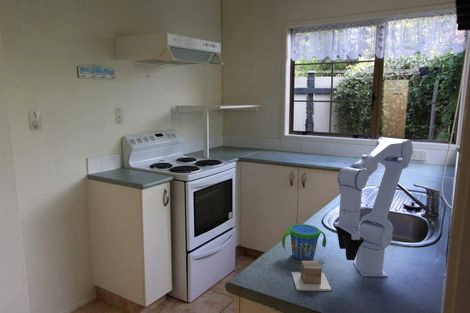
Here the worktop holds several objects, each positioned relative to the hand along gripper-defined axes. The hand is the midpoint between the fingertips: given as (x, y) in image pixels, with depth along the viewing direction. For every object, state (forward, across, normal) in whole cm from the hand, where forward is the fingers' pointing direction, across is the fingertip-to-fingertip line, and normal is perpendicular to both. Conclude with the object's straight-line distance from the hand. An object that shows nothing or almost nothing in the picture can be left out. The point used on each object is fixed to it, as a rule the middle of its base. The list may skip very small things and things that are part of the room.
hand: (346, 253), depth 107 cm
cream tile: (+10, -2, -10) cm, 14 cm away
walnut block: (+10, -2, -10) cm, 14 cm away
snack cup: (+11, -20, -9) cm, 25 cm away
